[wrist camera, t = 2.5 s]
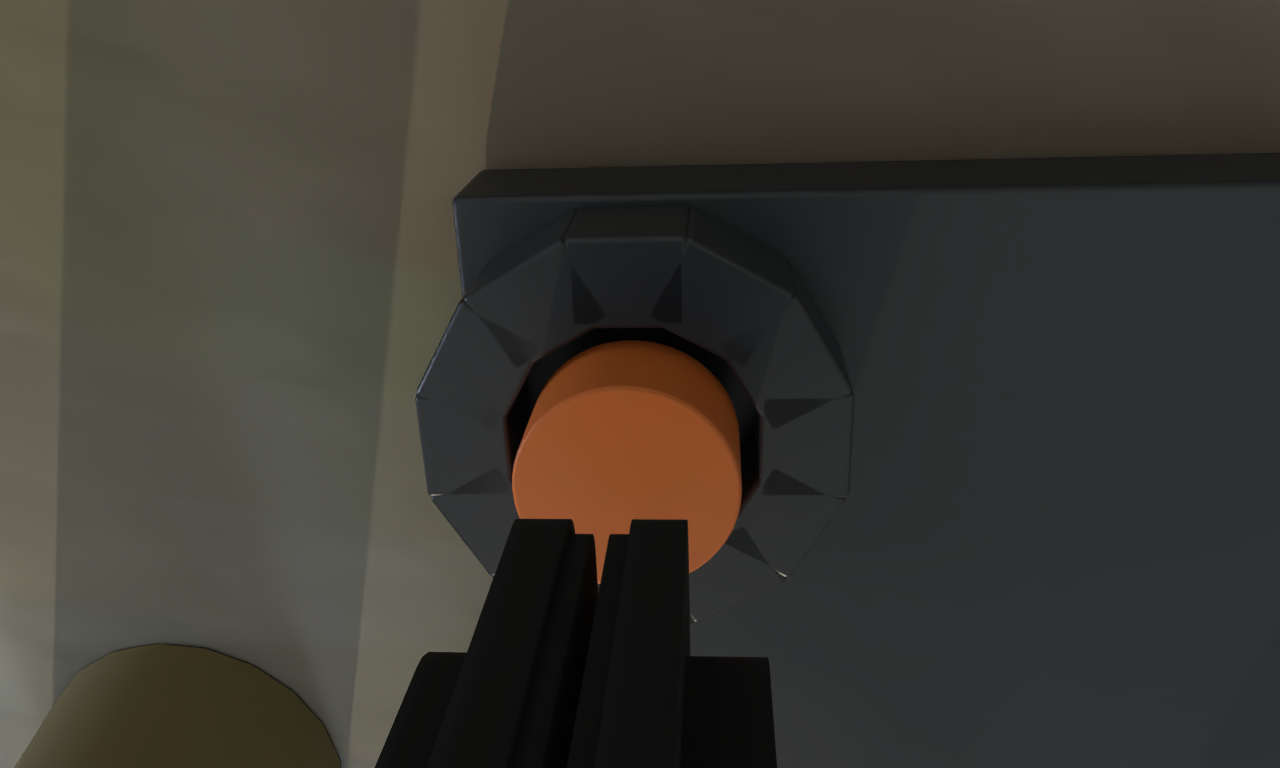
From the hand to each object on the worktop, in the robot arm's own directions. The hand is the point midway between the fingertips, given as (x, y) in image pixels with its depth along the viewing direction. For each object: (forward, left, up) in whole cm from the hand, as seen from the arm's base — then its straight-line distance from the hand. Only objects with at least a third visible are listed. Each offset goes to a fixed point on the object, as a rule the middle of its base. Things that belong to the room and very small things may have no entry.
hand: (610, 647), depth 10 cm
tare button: (0, 0, -4) cm, 4 cm away
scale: (+5, +4, -7) cm, 10 cm away
